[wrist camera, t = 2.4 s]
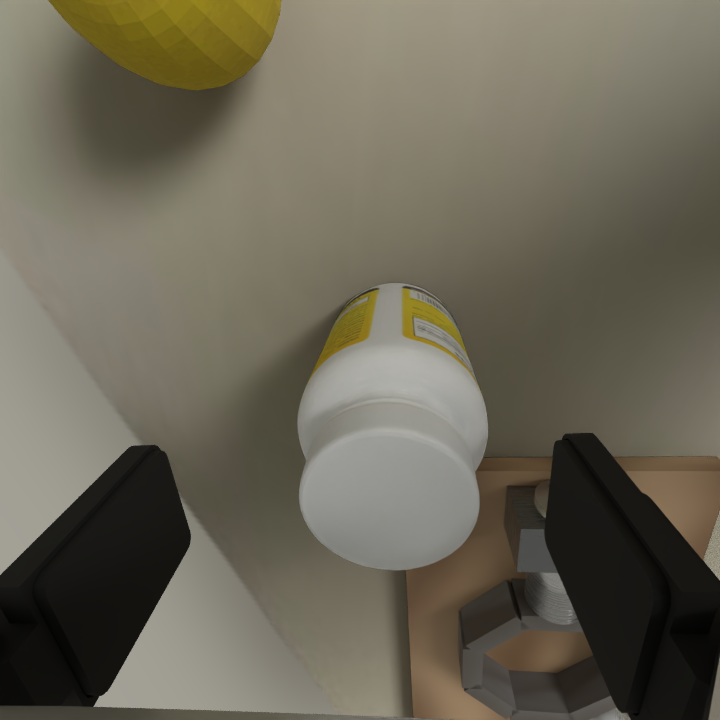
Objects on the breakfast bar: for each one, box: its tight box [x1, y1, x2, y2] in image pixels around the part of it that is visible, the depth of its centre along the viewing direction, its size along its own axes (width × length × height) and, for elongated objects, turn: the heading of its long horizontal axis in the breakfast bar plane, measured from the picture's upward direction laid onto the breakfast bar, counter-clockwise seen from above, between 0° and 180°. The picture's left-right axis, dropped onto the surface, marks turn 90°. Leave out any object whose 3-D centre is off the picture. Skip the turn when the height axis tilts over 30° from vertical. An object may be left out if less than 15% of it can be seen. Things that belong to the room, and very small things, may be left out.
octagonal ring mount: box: [406, 457, 720, 720], centre depth 22 cm, size 14×22×3 cm, turn 5°
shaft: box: [504, 479, 578, 625], centre depth 19 cm, size 6×4×4 cm
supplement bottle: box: [297, 283, 488, 570], centre depth 13 cm, size 5×5×10 cm
